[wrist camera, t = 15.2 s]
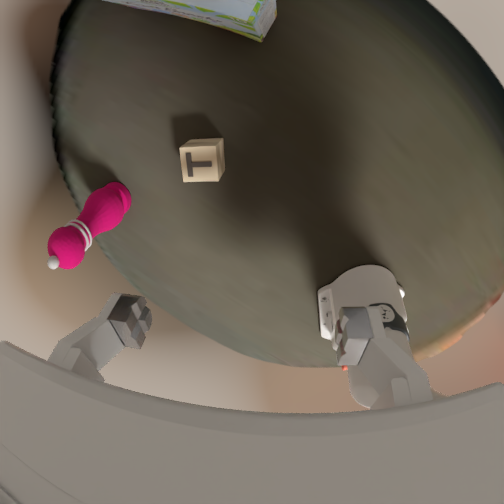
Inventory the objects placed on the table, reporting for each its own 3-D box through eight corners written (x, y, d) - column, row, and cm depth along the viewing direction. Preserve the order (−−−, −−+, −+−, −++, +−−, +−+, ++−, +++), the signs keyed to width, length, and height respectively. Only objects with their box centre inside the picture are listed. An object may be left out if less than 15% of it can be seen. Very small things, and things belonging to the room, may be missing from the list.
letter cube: (225, 169, 40) (218, 181, 36) (193, 170, 40) (183, 182, 36) (223, 137, 37) (215, 146, 33) (190, 139, 37) (178, 148, 33)
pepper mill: (101, 175, 42) (26, 237, 25) (134, 182, 42) (64, 251, 26) (102, 210, 46) (38, 278, 30) (133, 218, 46) (74, 294, 30)
